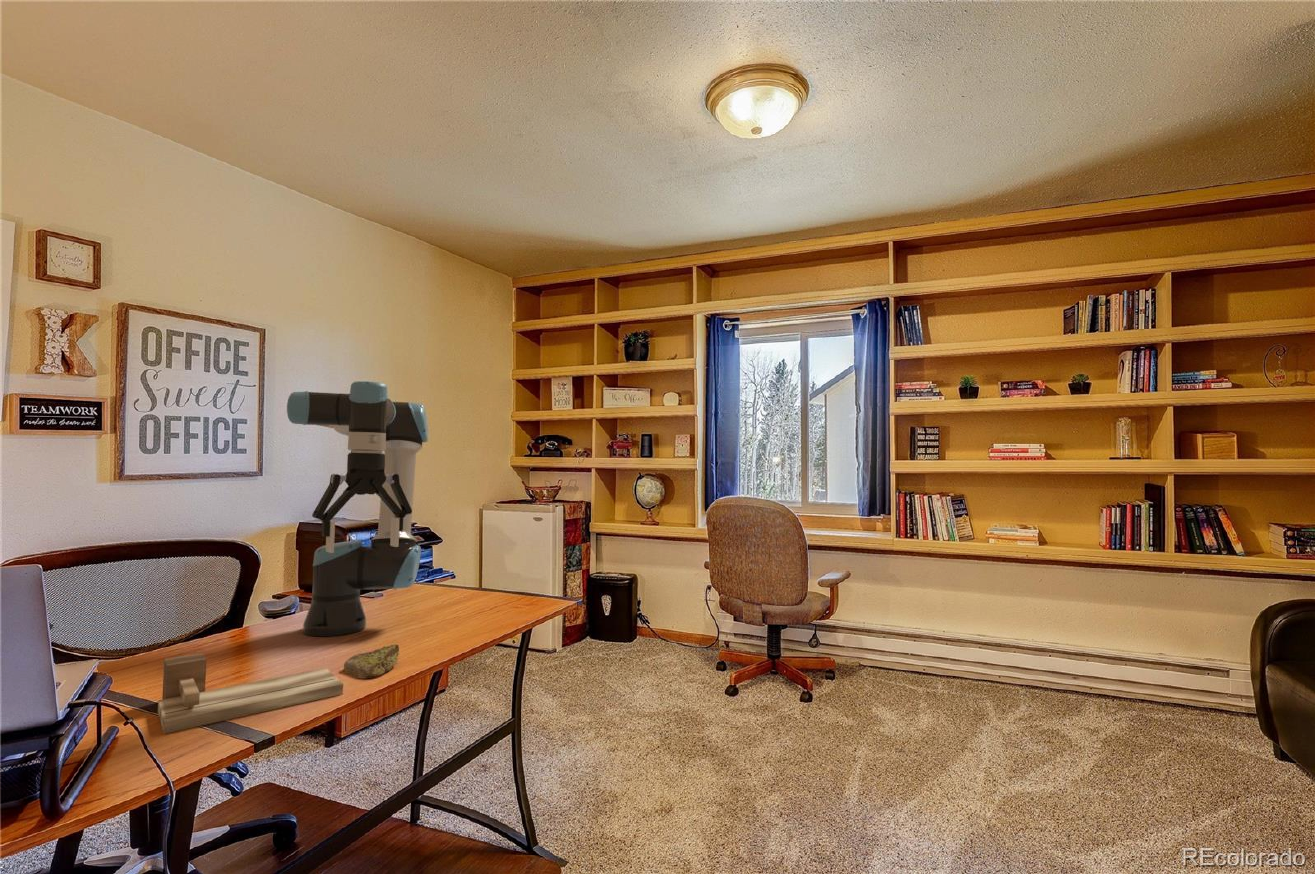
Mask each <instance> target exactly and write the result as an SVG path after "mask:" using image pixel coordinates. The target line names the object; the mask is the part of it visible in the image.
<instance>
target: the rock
mask: <svg viewBox="0 0 1315 874" xmlns="http://www.w3.org/2000/svg"><path fill="white" fill-rule="evenodd" d="M399 655H400V647H399V645H398V644H391V645H387V646H382V647H381V648H377V649H375V650H373V651H367V652H363V653H357V654H354V655H352V656H351V657H350V658H348V659H347V660H345V662H344V663H343V669H344V673H346V674H350V675H354V676H355V677H358V679H369V678H370V679H371V678H375V677H379V676H381V675H383V674H384V673H386V672H388V671H390V670H392V668H393V667H394V666H395V665H397V664H398V661H399V659H398V657H399Z"/></svg>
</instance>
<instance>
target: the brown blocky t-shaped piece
mask: <svg viewBox="0 0 1315 874" xmlns="http://www.w3.org/2000/svg"><path fill="white" fill-rule="evenodd" d="M206 678H207V657H206V656H205V654H204V652H201V653H194V654H188V655H186V654H185V655H181V656H175V657H170V658H164V661H163V680H162V695H161V696H162V697H161V700H163V699H168V698H173V697H178V696H181V698H182V700H183V703H184V706H185V707H188V708H193V707H194V705H199V698H200V692H204V691H206Z"/></svg>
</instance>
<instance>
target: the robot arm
mask: <svg viewBox="0 0 1315 874" xmlns="http://www.w3.org/2000/svg"><path fill="white" fill-rule="evenodd" d="M349 391H350V392H349V393H336V392H335V393H334V392H314V391H308V390H307V391H293V392H292V393H290V394H289V396H288V399H287V404H286V413H287V418H288V421H289V422H290V423H292V424H295V425H303V426H304V425H305V426H309V425H310V426H311V425H312V426H320V427H323V428H324V427H325V428H329V429H333V430H334V431H335V432H337V433H339V434H341V435H345V436H347V450H348V451H350V452H348V454H347V458H346V459H347V462H346V463H347V464H346V470H347V471H346V474H345V475H343V474H342V475H340V474H338V473H333V474H331V475H330V479H329V484H328V486H327V488H326V490H325V491H324V492H323V495H322V497H321V498H320V500H319V502H318V504H317V506H315V508H314V511H312V512H313V513H312V515H311V516H312V517H313V518H314V519H317V520H320V521H321V536H322V537H325V545H322V546H320V547H318V548H317V549H315V551H314V555H313V563H312V587H311V588H312V593H311V594H312V595H311V603H310V606H309V609H308V611H307V614H306V617H305V618H304V621H303V625H302V626H303V631H302V632H303V634H304V635H307V636H312V637H336V636H341V635H348V634H353V633H356V632H359V631H362V630H364V629H365V628H367V618H366V614H365V611H364V607H363V604H362V601H361V590H387V589H388V590H397V589H407V588H410V587H412V586H413V585H414V583H415V581H416V578H417V576H418V571H419V568H420V562H421V555H422V548H421V546H420V545H418V544H416V542H417V539H416V538H415V537H414V535H412V533H411V531H412V521H413V507H414V506H413V504H414V487H415V476H416V473H415V471H416V459H417V453H418V452H419V451H420V450H421V449H423V443H427V442H428V441H429V430H428V421H427V412H426V408H425V406H424V405H423V404H421V403H417V402H410V401H405V402H404V401H392V400H391V399H390V398H389V395H388V386H387V385H386V384H385V383H384V382H377V381H369V380H368V381H357V380H356V381H354V382H352V383H351V385H350V390H349ZM383 451H384V453H383ZM344 482H345V484H346V485H347V487H346V488H345V489H344V490H343V492H342V493H341V495H339V496H338V498H337V499H336V500H335V501H333V502H334V503H332V505H330V503H331V502H332V500H333V498H334V497H335V495H336V493H337V491H338V489H339V487H340V486H341V485H342V484H343V483H344ZM375 494H376V496H378V497H379V498H380V502H379V515H378V516H379V517H378V527H377V534H376V535H374V536H373V537H372V538H371V540H370V541H371V542H370V546H369V545H368V546H364V544H363V542H362V541H361V540H350V541H341V542H335V537H336V536H335V535H336V534H335V532H336V531H335V530H336V521H334V520H332V519H333V518H334V517H335V516H336V515H337V514H338V513H339V512H340V510H341V509H342V508H343V507H344V506H345V505H346V504H347V503H348V502H349V501H350V500H351V498H352V497H354V496H355V495H358V496H364V495H375ZM329 505H330V507H329ZM363 628H364V629H363Z"/></svg>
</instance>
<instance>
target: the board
mask: <svg viewBox="0 0 1315 874" xmlns="http://www.w3.org/2000/svg"><path fill="white" fill-rule="evenodd" d="M343 694H344V683H343V682H342V681H341V680H340V679H339V678H338V677H336V675H335V674H333V673H332V672H331V671H330V670H329V669H328V668H327V667H325V668H319V669H314V670H308V671H304V672H298V673H293V674H288V675H284V676H283V675H282V676H277V677H272V678H267V679H262V680H257V681H252V682H246V683H242V684H237V685H231V686H226V687H221V688H215V689H209V690H205V691H204V692H200V698H199V705H194V707H193V708H188V707H185V706H184V703H183V700H182V698H181V696H178V697H173V698H168V699H163V700H162V699H159V700H157V714H158V718H159V721H160V724H161V725H160V726H161V729H162V733H163V735H166V734H170V733H174V732H179V731H183V730H187V729H192V728H196V727H200V726H201V727H202V726H206V725H210V724H215V723H218V722H224V721H227V720H233V719H236V718H241V717H245V716H251V715H254V714H259V713H264V712H268V711H272V710H277V709H281V708H287V707H292V706H295V705H300V704H303V703H309V702H313V701H317V700H322V699H326V698H331V697H336V696H340V695H343Z"/></svg>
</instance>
